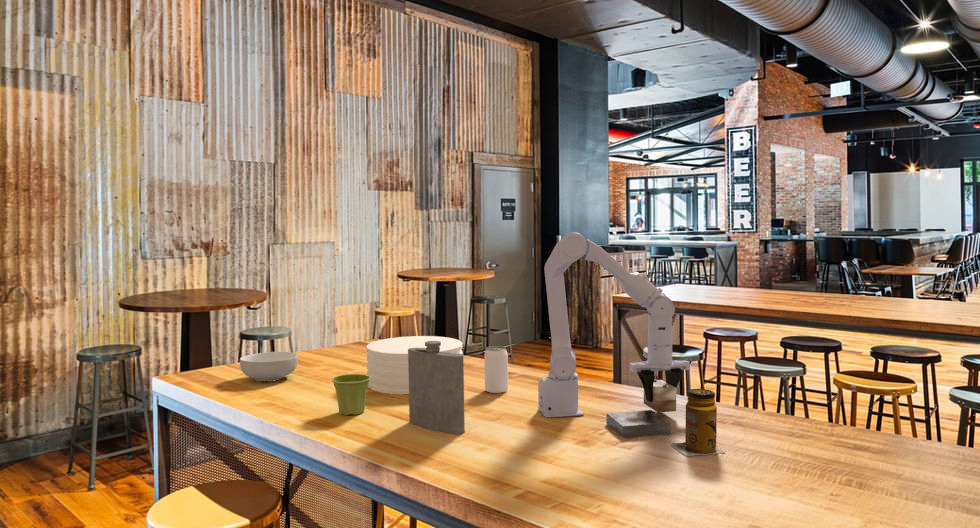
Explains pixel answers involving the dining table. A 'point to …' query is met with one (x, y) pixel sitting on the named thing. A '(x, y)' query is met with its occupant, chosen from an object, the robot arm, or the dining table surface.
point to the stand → (638, 423)
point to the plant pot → (351, 392)
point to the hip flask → (436, 389)
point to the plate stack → (399, 360)
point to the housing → (662, 397)
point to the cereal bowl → (269, 365)
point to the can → (496, 369)
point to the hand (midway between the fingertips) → (659, 400)
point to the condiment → (700, 424)
